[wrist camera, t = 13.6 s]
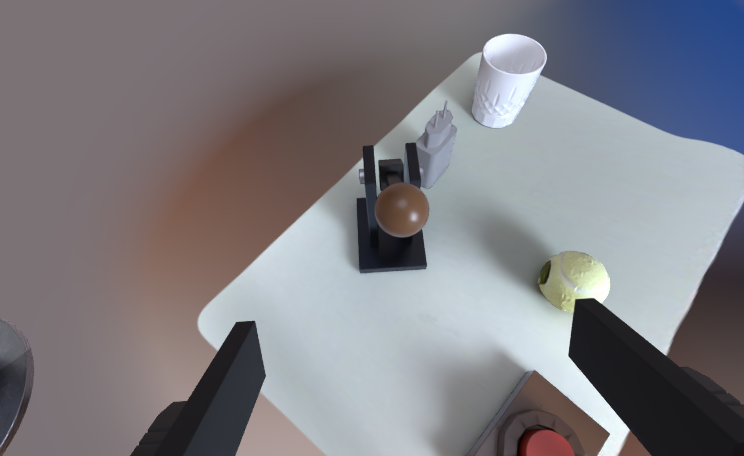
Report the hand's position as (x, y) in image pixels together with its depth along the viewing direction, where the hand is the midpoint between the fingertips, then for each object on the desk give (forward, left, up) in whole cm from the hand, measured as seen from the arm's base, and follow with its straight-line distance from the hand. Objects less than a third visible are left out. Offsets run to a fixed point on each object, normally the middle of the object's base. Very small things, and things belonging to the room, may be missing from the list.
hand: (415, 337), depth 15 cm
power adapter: (+23, +15, -26) cm, 38 cm away
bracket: (+12, +12, -26) cm, 31 cm away
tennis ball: (+20, -7, -26) cm, 33 cm away
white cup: (+38, +15, -26) cm, 48 cm away
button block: (+4, -13, -26) cm, 29 cm away
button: (+4, -13, -22) cm, 26 cm away
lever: (+8, +8, -10) cm, 15 cm away
